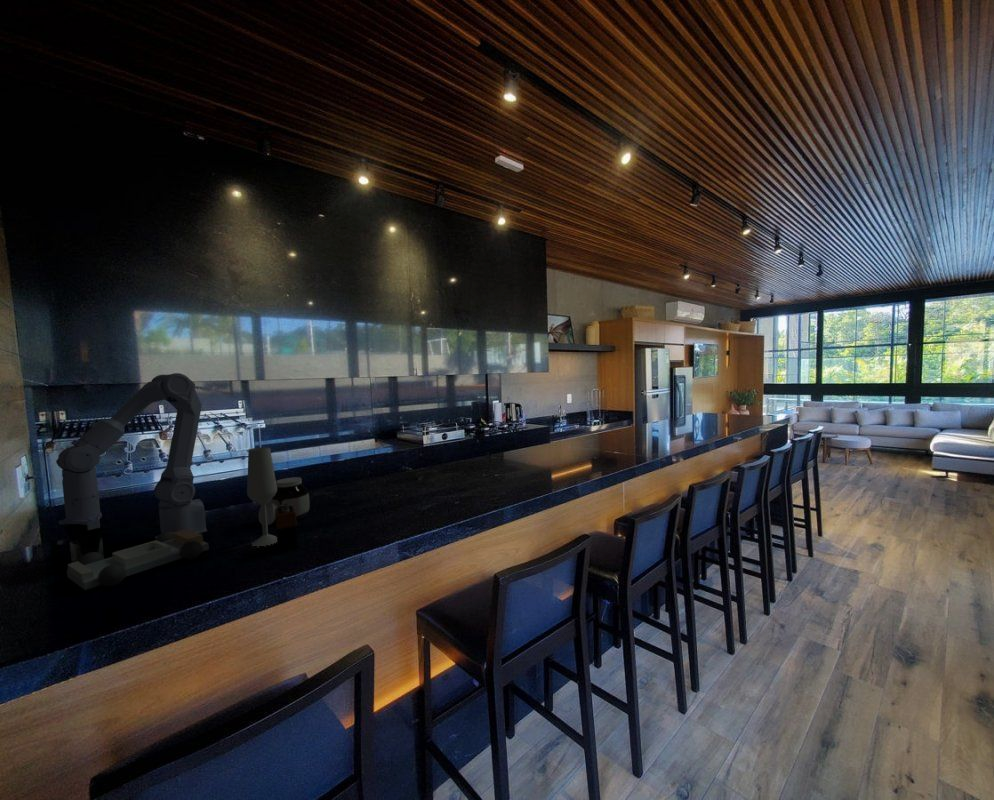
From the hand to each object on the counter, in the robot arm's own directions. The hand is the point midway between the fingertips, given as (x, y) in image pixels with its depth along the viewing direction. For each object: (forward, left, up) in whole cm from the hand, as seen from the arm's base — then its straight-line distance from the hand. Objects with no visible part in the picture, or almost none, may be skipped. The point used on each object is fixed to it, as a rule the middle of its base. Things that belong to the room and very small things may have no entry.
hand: (87, 554), depth 97 cm
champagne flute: (-27, +27, -2) cm, 38 cm away
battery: (-28, +35, -2) cm, 45 cm away
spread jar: (-39, +15, -2) cm, 42 cm away
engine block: (0, 0, -1) cm, 1 cm away
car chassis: (-6, +14, -2) cm, 15 cm away
